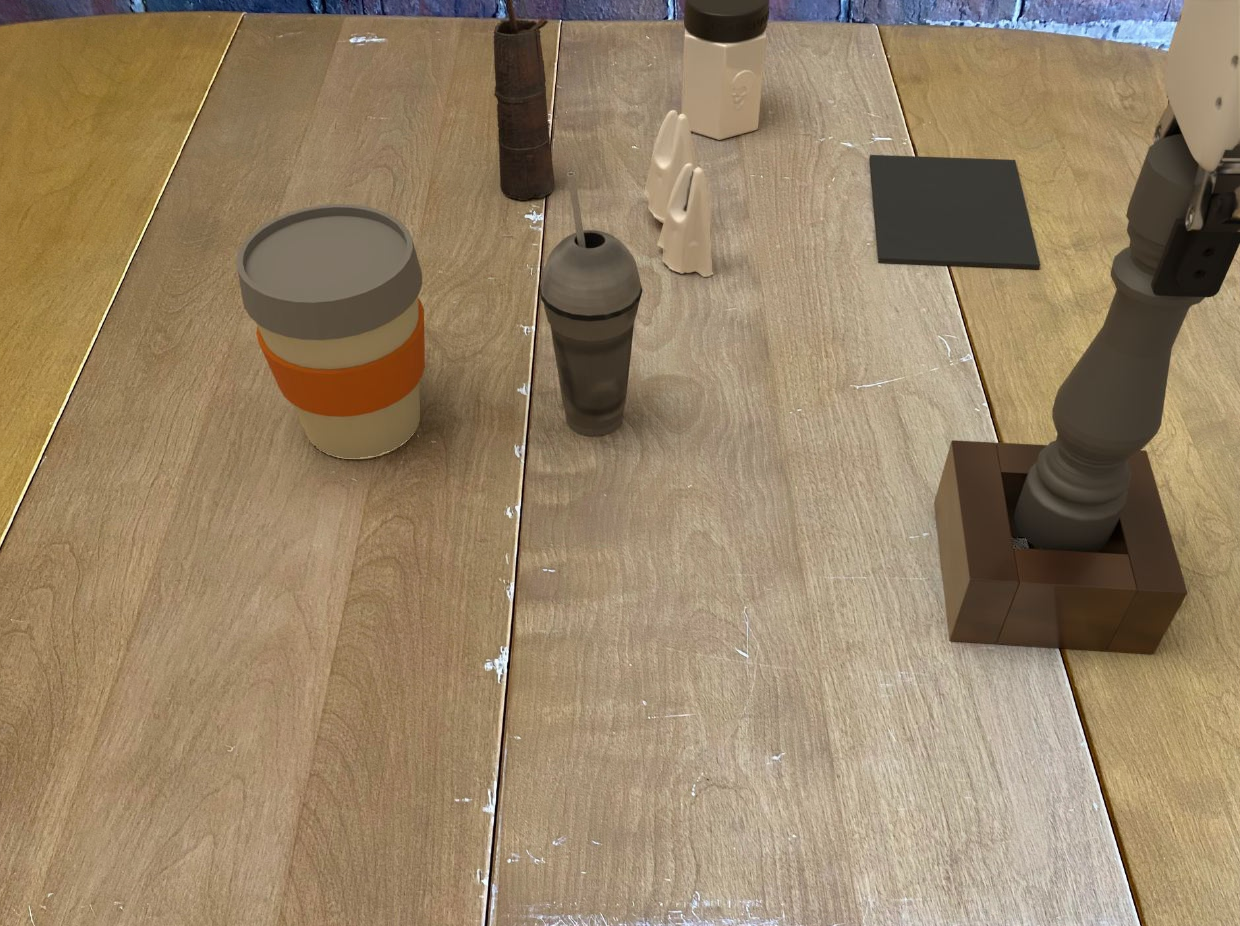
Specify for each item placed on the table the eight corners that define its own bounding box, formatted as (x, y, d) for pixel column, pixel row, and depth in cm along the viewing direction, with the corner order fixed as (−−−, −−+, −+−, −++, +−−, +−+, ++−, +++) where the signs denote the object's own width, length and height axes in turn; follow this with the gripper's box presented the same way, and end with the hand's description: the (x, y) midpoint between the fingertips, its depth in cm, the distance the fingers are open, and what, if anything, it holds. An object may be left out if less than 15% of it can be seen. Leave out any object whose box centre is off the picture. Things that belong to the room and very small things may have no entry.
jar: (701, 147, 118) (707, 23, 108) (662, 112, 122) (665, -10, 113) (777, 126, 120) (790, 3, 111) (736, 93, 125) (746, -29, 116)
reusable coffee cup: (251, 453, 90) (195, 282, 78) (333, 357, 97) (293, 188, 86) (396, 493, 87) (361, 321, 75) (470, 391, 94) (448, 220, 82)
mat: (1014, 164, 115) (1015, 159, 114) (1039, 269, 103) (1040, 264, 103) (869, 159, 116) (869, 154, 115) (878, 262, 104) (879, 257, 104)
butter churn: (587, 159, 117) (579, -170, 95) (583, 211, 111) (574, -128, 89) (495, 159, 117) (466, -169, 95) (486, 210, 111) (453, -127, 89)
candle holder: (1093, 570, 74) (1256, 209, 55) (999, 533, 77) (1124, 173, 57) (1124, 512, 78) (1288, 151, 58) (1033, 477, 80) (1162, 119, 60)
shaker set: (642, 209, 111) (643, 92, 102) (685, 204, 111) (690, 88, 103) (668, 282, 103) (672, 162, 95) (714, 276, 104) (722, 157, 95)
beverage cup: (622, 457, 89) (622, 215, 73) (533, 436, 90) (514, 195, 75) (653, 398, 93) (659, 158, 78) (567, 379, 95) (556, 141, 79)
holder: (1118, 513, 84) (1146, 449, 79) (1153, 654, 76) (1188, 593, 71) (933, 503, 85) (951, 439, 80) (949, 641, 77) (970, 579, 72)
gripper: (1502, -49, 42) (1287, 362, 56) (1357, -206, 53) (1207, 172, 67) (1282, -51, 43) (1124, 356, 57) (1183, -206, 53) (1071, 169, 67)
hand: (1170, 253), depth 62 cm, fingers closed on candle holder, 5 cm apart
